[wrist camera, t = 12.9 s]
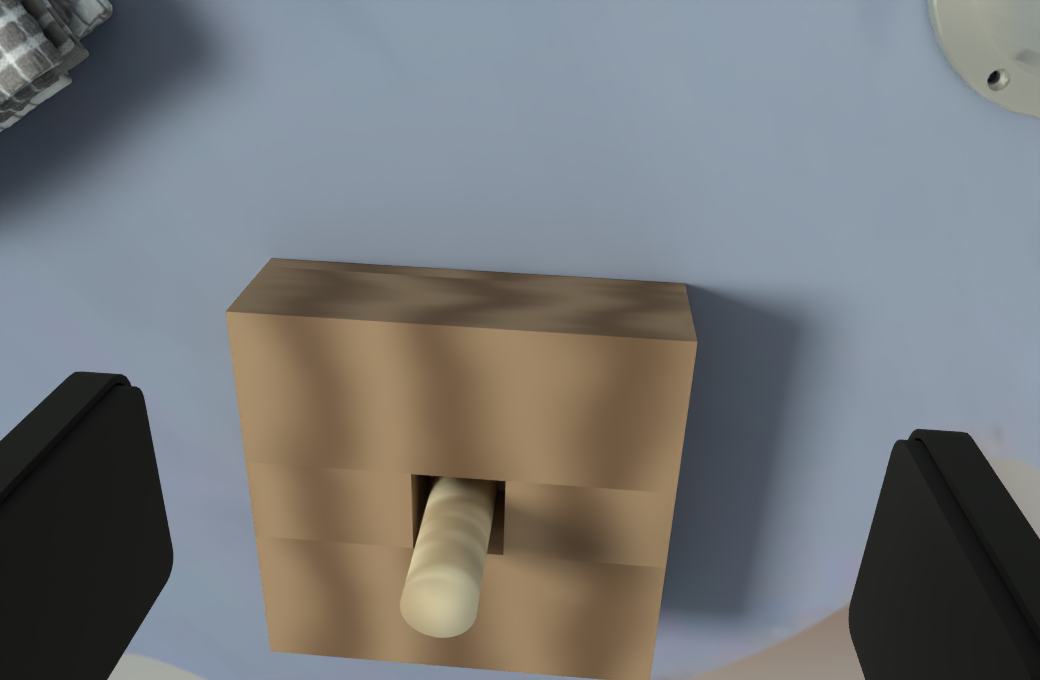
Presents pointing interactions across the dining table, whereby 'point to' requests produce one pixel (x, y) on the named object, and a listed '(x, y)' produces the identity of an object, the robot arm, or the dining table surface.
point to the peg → (449, 557)
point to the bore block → (463, 455)
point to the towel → (41, 49)
